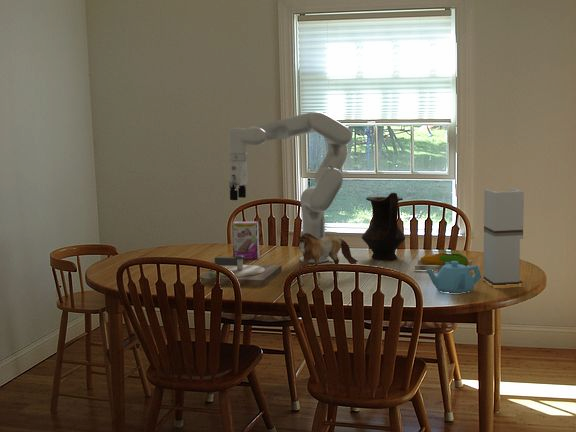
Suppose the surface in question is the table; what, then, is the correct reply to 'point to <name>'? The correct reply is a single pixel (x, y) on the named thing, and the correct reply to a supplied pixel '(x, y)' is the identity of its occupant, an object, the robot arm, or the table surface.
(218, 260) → the lever with ball knob
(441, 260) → the corn
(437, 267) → the corn rest
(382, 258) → the jug
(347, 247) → the horse figurine
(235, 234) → the candy bar box
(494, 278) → the white rectangular tower
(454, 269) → the teapot
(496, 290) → the table surface
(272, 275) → the tuner base
